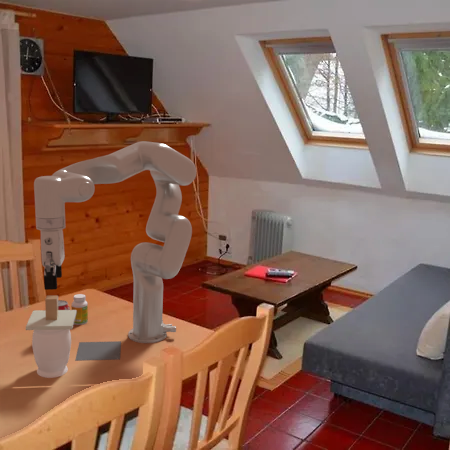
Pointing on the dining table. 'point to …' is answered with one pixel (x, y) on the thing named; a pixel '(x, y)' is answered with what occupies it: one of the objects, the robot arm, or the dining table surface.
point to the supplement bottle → (80, 309)
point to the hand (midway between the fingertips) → (53, 283)
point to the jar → (51, 351)
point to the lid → (51, 317)
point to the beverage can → (63, 305)
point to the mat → (98, 351)
